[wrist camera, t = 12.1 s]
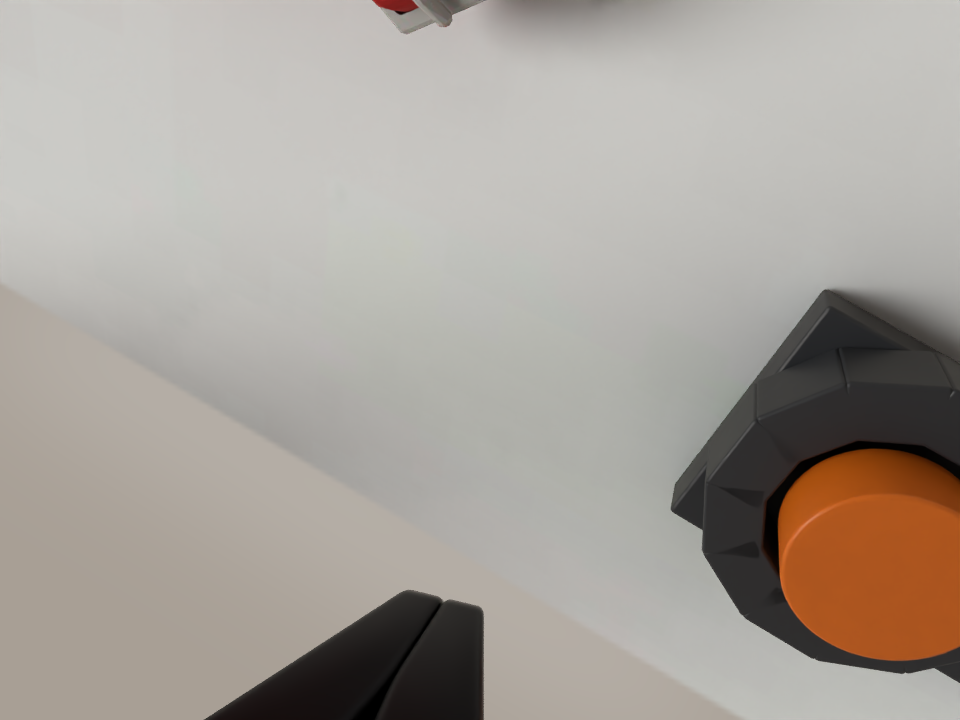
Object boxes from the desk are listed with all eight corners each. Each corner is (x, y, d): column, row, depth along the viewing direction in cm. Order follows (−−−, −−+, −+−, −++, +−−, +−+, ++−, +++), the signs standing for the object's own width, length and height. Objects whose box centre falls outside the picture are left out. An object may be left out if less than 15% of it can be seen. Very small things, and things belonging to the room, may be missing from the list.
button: (1027, 512, 15) (1057, 571, 13) (896, 630, 16) (910, 694, 15) (851, 413, 15) (862, 458, 13) (741, 539, 17) (740, 592, 15)
